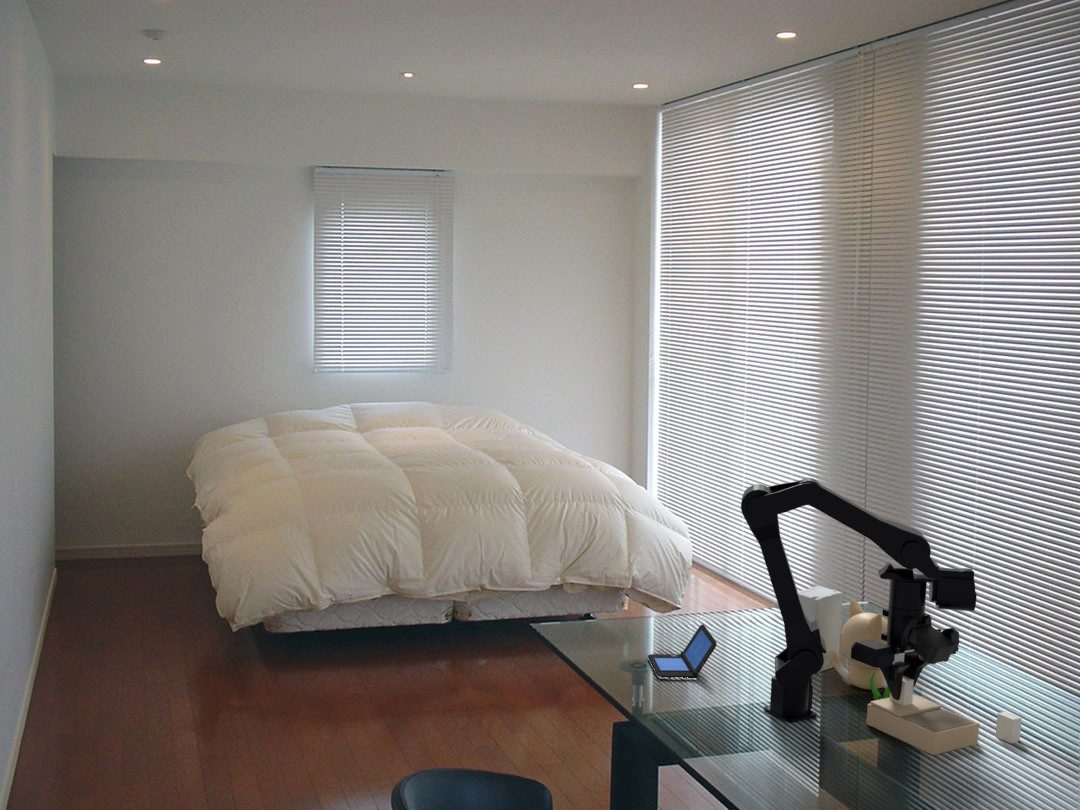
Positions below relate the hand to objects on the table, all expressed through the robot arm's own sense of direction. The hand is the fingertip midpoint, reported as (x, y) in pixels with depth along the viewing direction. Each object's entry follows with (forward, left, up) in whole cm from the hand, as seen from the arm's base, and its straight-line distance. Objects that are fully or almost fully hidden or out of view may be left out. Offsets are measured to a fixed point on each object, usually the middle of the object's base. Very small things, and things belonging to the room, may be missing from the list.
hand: (901, 698), depth 185 cm
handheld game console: (-17, +38, -5) cm, 42 cm away
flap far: (0, -1, -1) cm, 1 cm away
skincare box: (+8, +29, -5) cm, 30 cm away
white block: (+11, -11, -5) cm, 16 cm away
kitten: (+9, +16, -5) cm, 18 cm away
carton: (0, -4, -4) cm, 6 cm away
